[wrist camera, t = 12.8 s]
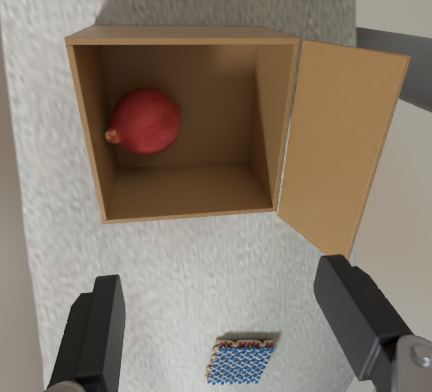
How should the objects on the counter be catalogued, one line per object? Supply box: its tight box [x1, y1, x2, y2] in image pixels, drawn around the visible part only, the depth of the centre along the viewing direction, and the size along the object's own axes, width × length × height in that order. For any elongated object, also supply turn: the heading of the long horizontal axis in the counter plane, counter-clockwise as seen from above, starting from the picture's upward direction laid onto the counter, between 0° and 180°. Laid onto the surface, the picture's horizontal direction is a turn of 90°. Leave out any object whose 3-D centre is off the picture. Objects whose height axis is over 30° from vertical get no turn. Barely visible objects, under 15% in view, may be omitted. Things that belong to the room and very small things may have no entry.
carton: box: [65, 25, 300, 224], centre depth 28 cm, size 15×14×10 cm
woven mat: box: [205, 339, 275, 385], centre depth 55 cm, size 10×11×2 cm
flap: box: [278, 40, 411, 261], centre depth 22 cm, size 7×14×1 cm
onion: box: [105, 88, 182, 156], centre depth 29 cm, size 6×6×8 cm
